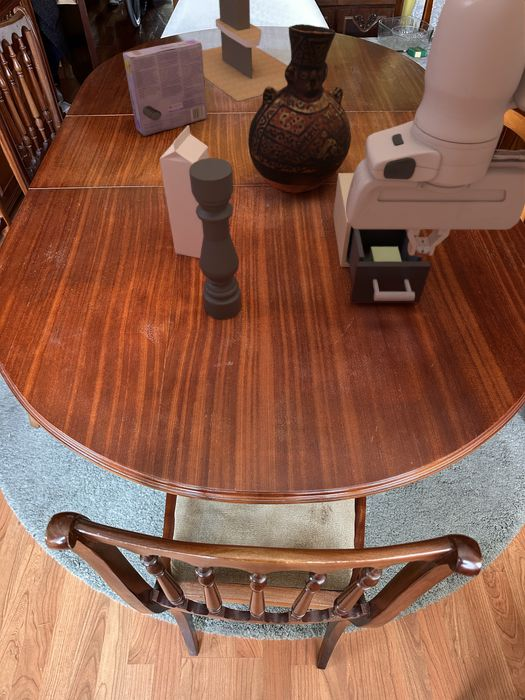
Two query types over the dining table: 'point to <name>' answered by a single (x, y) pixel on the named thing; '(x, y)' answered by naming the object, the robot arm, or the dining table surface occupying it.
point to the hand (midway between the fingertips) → (419, 252)
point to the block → (384, 254)
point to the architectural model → (241, 56)
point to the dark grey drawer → (384, 268)
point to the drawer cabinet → (343, 217)
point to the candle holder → (216, 236)
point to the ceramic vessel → (301, 119)
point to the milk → (183, 192)
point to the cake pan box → (166, 86)
